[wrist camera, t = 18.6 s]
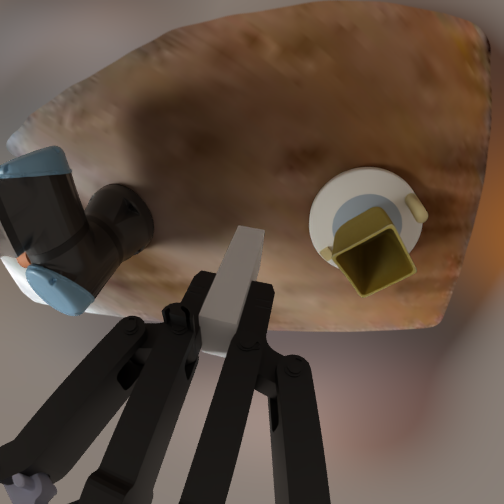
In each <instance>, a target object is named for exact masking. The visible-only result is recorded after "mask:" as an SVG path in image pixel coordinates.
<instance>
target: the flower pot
mask: <svg viewBox="0 0 504 504" xmlns="http://www.w3.org/2000/svg"><path fill="white" fill-rule="evenodd" d="M331 258H332V260H333V262H334V263H335V264H336V265H337V266H338V268H339V269H340V270H341V271H342V273H343V274H344V275H345V276H346V277H347V279H348V280H349V282H350V283H351V284H352V286H353V287H354V289H355V290H356V291H357V293H358V294H359V296H360V297H362V298H365V297H367V296H370V295H372V294H374V293H376V292H378V291H380V290H382V289H384V288H386V287H388V286H390V285H392V284H395V283H397V282H399V281H401V280H403V279H405V278H407V277H409V276H411V275H413V274H414V273H416V272H417V269H416V267H415V265H414V263H413V261H412V259H411V257H410V255H409V253H408V251H407V249H406V247H405V245H404V243H403V241H402V239H401V237H400V235H399V233H398V231H397V229H396V227H395V225H394V224H393V222H392V221H391V219H390V217H389V216H388V214H387V213H386V212H385V210H384V209H382V208H381V207H372V208H370V209H368V210H366V211H365V212H363V213H361V214H359V215H358V216H356V217H354V218H352V219H350V220H349V221H347V222H346V223H344V224H343V225H342V226H341V227H340V228H339V229H338V230H337V232H336V234H335V237H334V242H333V250H332V257H331Z"/></svg>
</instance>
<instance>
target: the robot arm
mask: <svg viewBox="0 0 504 504" xmlns="http://www.w3.org/2000/svg"><path fill="white" fill-rule="evenodd" d="M71 173H72V170H71V169H70V167H69V165H68V162H67V159H66V156H65V153H64V151H63V150H62V149H61V148H60V147H58V146H50V147H46V148H43V149H39V150H36V151H33V152H31V153H28V154H25V155H22V156H20V157H17V158H15V159H12V160H10V161H8V162H6V163H4V164H2V165H0V258H1V257H2V256H9V257H13V258H18V257H19V256H20V255H21V254H23V253H24V252H26V254H27V255H28V257H29V259H30V261H31V265H29V266H28V267H27V270H26V277H27V281H28V283H29V284H30V286H31V287H32V289H33V290H34V291H35V292H36V293H37V294H38V295H39V296H40V297H41V298H42V299H43V300H44V301H45V302H46V303H47V304H49V305H50V306H51V307H53V308H54V309H56V310H58V311H60V312H62V313H64V314H66V315H70V316H78V315H80V314H82V313H83V312H84V311H85V310H86V309H87V308H88V306H89V305H90V304H91V303H93V302H94V300H95V298H96V297H97V295H98V294H99V292H100V291H101V290H102V288H103V287H104V286H105V284H106V283H107V281H108V280H109V279H110V277H111V276H112V275H113V273H114V272H115V271H116V269H117V268H118V267H119V265H120V264H121V263H122V262H123V261H125V260H127V259H129V258H130V257H132V256H133V255H136V254H138V253H140V252H141V251H142V250H143V249H144V248H145V247H146V246H147V245H148V243H149V242H150V241H151V239H152V236H153V231H154V226H153V220H152V216H151V214H150V212H149V210H148V208H147V206H146V205H145V203H144V202H143V201H142V199H141V198H140V197H139V196H138V195H137V194H136V193H134V192H133V191H131V190H130V189H128V188H126V187H124V186H121V185H115V184H111V185H107V186H104V187H102V188H101V189H100V190H98V191H97V192H96V193H95V194H94V195H93V196H92V197H91V199H90V201H89V203H88V206H87V207H86V209H85V210H84V209H83V206H82V204H81V201H80V198H79V195H78V192H77V189H76V186H75V183H74V180H73V177H72V174H71ZM264 234H265V230H262V229H256V228H251V227H246V226H240V225H238V227H237V229H236V232H235V234H234V236H233V238H232V240H231V243H230V245H229V247H228V249H227V252H226V254H225V256H224V258H223V261H222V263H221V265H220V267H219V270H218V272H217V274H216V273H211V272H206V271H200V272H199V273H198V274H197V275H195V276H194V278H193V280H192V282H191V284H190V286H189V287H188V289H187V292H186V293H185V295H184V297H183V299H182V301H181V303H172V304H169V305H168V306H166V307H165V308H164V309H163V310H162V315H163V319H164V322H163V323H156V324H155V323H144V321H143V320H142V319H141V318H140V317H137V316H128V317H125V318H123V319H122V320H121V321H119V323H117V324H116V326H115V327H114V328H113V329H112V330H111V331H110V332H109V333H108V334H107V335H106V336H105V337H104V338H103V339H102V340H101V341H100V342H99V343H98V344H97V346H96V347H95V348H94V349H93V350H92V351H91V352H90V353H89V354H88V355H87V356H86V357H85V359H83V360H82V362H81V363H80V364H79V365H78V366H77V367H76V368H75V369H74V370H73V371H72V373H71V374H70V375H69V376H68V377H67V378H66V379H65V380H64V382H63V383H62V384H61V385H60V386H59V387H58V388H57V389H56V391H55V392H54V393H53V394H52V395H51V396H50V397H49V399H48V400H47V401H46V402H45V403H44V404H43V406H42V407H41V408H40V409H39V410H38V411H37V413H36V414H35V415H34V416H33V417H32V419H31V420H30V421H29V422H28V423H27V425H26V426H25V427H24V428H23V430H22V431H21V432H20V433H19V434H18V436H17V437H16V438H15V439H14V440H13V441H11V442H9V443H7V444H5V445H3V446H1V447H0V483H2V484H3V485H4V487H5V489H6V491H7V493H8V495H9V497H10V499H11V501H12V503H13V504H48V502H49V501H50V500H51V499H52V498H53V496H54V495H56V494H57V489H56V487H55V486H54V485H53V484H54V483H55V482H57V481H59V480H60V479H62V478H63V477H64V476H65V475H66V474H67V473H68V472H69V471H70V470H71V469H72V468H73V466H74V465H75V464H76V463H77V461H78V460H79V459H80V458H81V456H82V455H83V454H84V453H85V451H86V450H87V449H88V447H89V446H90V445H91V444H92V442H93V441H94V440H95V438H96V437H97V436H98V435H99V434H100V432H101V431H102V430H103V429H104V427H105V426H106V425H107V424H108V422H109V421H110V420H111V419H112V417H113V416H114V415H115V414H116V412H117V411H118V410H119V409H120V407H121V406H122V405H123V404H124V402H125V401H126V400H127V399H128V397H129V396H130V397H129V399H128V401H127V403H126V406H125V408H124V410H123V412H122V415H121V417H120V419H119V421H118V424H117V426H116V428H115V431H114V433H113V435H112V438H111V440H110V442H109V445H108V447H107V450H106V452H105V455H104V457H103V459H102V462H101V464H100V466H99V468H98V469H97V470H96V471H95V472H93V473H92V474H91V475H90V476H89V477H88V479H87V481H86V483H85V486H84V489H83V491H82V494H81V497H80V499H79V500H77V501H74V502H71V503H69V504H151V503H152V499H153V488H154V485H155V482H156V479H157V476H158V473H159V470H160V468H161V464H162V462H163V459H164V456H165V453H166V450H167V447H168V445H169V442H170V439H171V436H172V433H173V431H174V428H175V425H176V422H177V420H178V416H179V414H180V411H181V408H182V405H183V403H184V400H185V397H186V395H187V392H188V389H189V386H190V384H191V381H192V378H193V375H194V373H195V369H196V367H197V364H198V360H199V356H198V354H199V352H200V349H201V347H202V352H205V353H209V354H212V355H217V356H221V357H225V361H224V364H223V367H222V371H221V374H220V377H219V380H218V383H217V386H216V389H215V393H214V396H213V399H212V402H211V405H210V408H209V412H208V415H207V418H206V421H205V424H204V427H203V430H202V433H201V437H200V440H199V443H198V446H197V449H196V453H195V455H194V459H193V462H192V465H191V468H190V471H189V474H188V477H187V480H186V483H185V487H184V489H183V492H182V495H181V499H180V501H179V504H225V501H226V498H227V494H228V491H229V487H230V483H231V480H232V476H233V472H234V468H235V465H236V461H237V457H238V453H239V449H240V445H241V441H242V437H243V433H244V429H245V425H246V421H247V417H248V413H249V409H250V405H251V400H252V396H253V392H254V389H255V390H257V391H259V392H260V393H262V394H264V395H266V396H268V407H269V421H270V434H271V449H272V461H273V462H272V463H273V477H274V490H275V504H331V503H330V494H329V486H328V478H327V470H326V463H325V455H324V448H323V441H322V435H321V428H320V421H319V415H318V409H317V402H316V396H315V390H314V384H313V379H312V373H311V368H310V365H309V363H308V362H307V361H306V360H305V359H304V358H303V357H301V356H298V355H287V356H283V355H281V354H279V353H277V352H276V351H274V350H273V349H272V348H271V347H270V346H269V345H268V343H267V340H266V333H267V328H268V324H269V319H270V314H271V309H272V304H273V299H274V294H275V292H274V289H273V286H272V284H267V283H262V282H257V281H256V279H257V276H258V272H259V268H260V262H261V255H262V248H263V241H264Z"/></svg>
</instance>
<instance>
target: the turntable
mask: <svg viewBox="0 0 504 504" xmlns="http://www.w3.org/2000/svg"><path fill="white" fill-rule="evenodd" d="M372 207H381V208H382V209H384V210H385V212H386V213H387V214H388V216H389V217H390V219H391V221H392V222H393V224H394V225H395V227H396V229H397V231H398V233H399V235H400V237H401V239H402V241H403V243H404V245H405V247H406V249H407V251H408V253H410V252H411V250H412V249H413V248H414V246H415V245H416V243H417V241H418V239H419V236H420V234H421V230H422V224H423V223H424V222H425V221H426V220H427V219H428V213H427V211H426V209H425V208H424V206H423V205H422V203H421V202H420V200H419V199H418V197H417V196H416V194H415V193H414V191H413V190H412V189H411V187H410V186H409V185H408V184H407V182H406V181H405V180H403V179H402V178H401V177H400V176H398V175H396V174H395V173H393V172H391V171H388V170H386V169H382V168H378V167H359V168H353V169H350V170H347V171H344V172H342V173H340V174H338V175H336V176H335V177H333V178H332V179H331V180H329V181H328V182H327V183H326V184H325V185H324V186H323V187H322V188H321V189H320V191H319V192H318V194H317V195H316V197H315V199H314V201H313V203H312V206H311V210H310V217H309V231H310V237H311V240H312V243H313V245H314V247H315V249H316V250H317V252H318V253H319V254H320V256H321V257H322V258H323V259H324V260H326V261H327V262H328V263H330V264H331V265H333V266H334V267H336V268H338V266H337V265H336V264H335V263H334V262H333V260H332V258H331V257H332V250H333V242H334V237H335V234H336V232H337V230H338V229H339V228H340V227H341V226H342V225H343V224H344V223H346V222H347V221H349V220H350V219H352V218H354V217H356V216H358V215H359V214H361V213H363V212H365V211H366V210H368V209H370V208H372ZM338 269H339V268H338Z"/></svg>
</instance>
